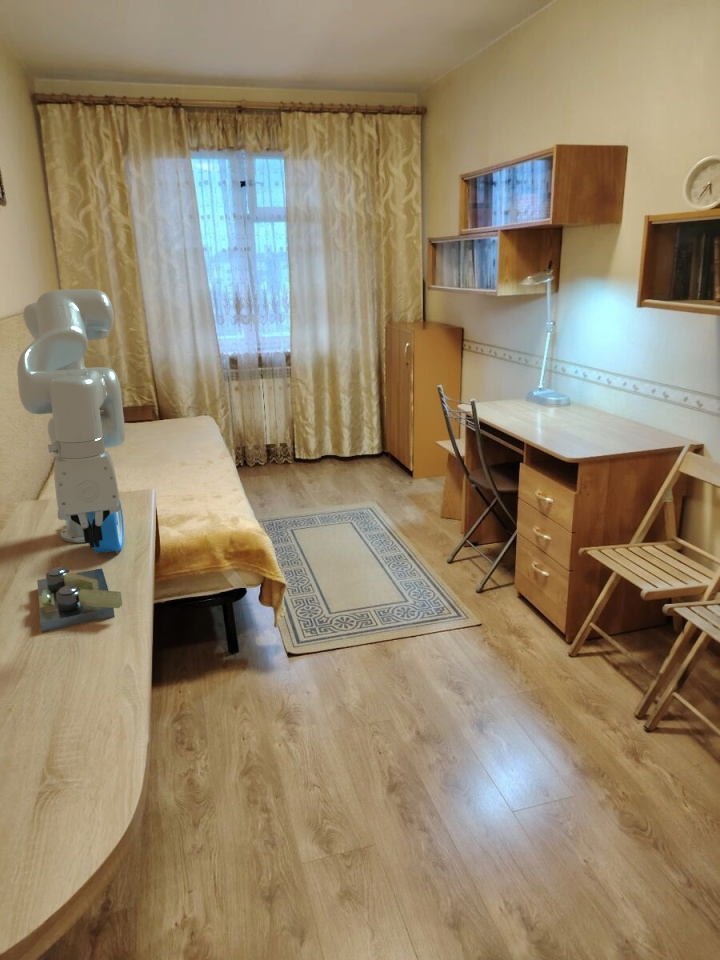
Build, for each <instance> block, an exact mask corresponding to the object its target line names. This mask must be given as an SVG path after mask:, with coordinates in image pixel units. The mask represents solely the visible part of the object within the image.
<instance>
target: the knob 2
mask: <svg viewBox="0 0 720 960" xmlns="http://www.w3.org/2000/svg"><path fill="white" fill-rule="evenodd" d="M56 598H57V605H58V609H59V610H60V611H72V610H75V609H78V608H79V607H81V606H94V607H108V608H114V609H120V608H121V607H122V605H123V602H122V601H123V600H122V592H121V591H115V590H114V591H113V590H109V591H102V590H87V589H82V590H80V588H78V587H76V586H74V585H69V586H64V587H62V588H60V589H59V591H57V592H56Z"/></svg>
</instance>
